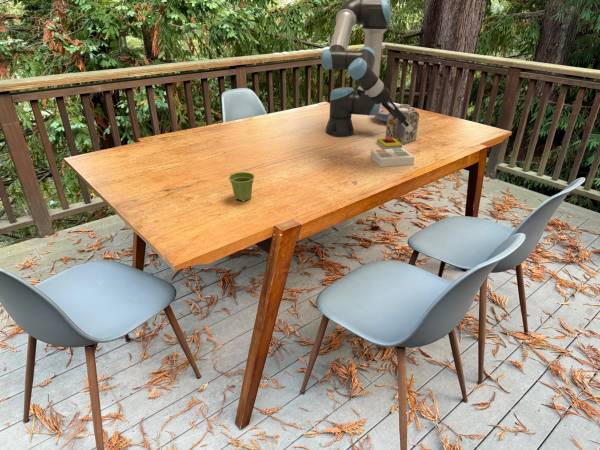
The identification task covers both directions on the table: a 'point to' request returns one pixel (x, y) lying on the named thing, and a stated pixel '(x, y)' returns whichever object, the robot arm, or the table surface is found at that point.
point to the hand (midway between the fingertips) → (408, 128)
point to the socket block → (392, 157)
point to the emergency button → (388, 143)
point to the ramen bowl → (383, 113)
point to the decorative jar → (408, 137)
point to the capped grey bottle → (399, 127)
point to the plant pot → (242, 185)
